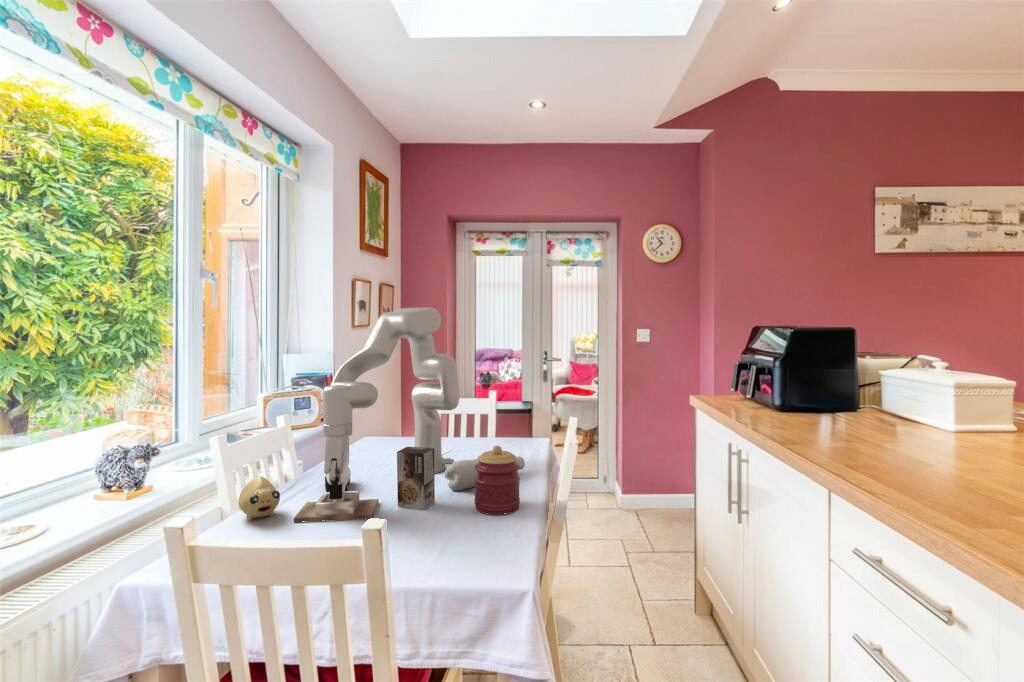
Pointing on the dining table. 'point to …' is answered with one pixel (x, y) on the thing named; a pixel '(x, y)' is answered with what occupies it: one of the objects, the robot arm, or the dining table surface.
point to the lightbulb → (344, 480)
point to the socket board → (338, 508)
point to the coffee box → (415, 477)
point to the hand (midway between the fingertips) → (338, 494)
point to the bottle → (466, 473)
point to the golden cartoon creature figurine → (258, 498)
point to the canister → (497, 482)
